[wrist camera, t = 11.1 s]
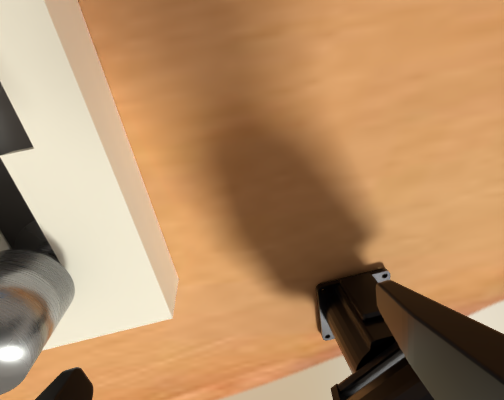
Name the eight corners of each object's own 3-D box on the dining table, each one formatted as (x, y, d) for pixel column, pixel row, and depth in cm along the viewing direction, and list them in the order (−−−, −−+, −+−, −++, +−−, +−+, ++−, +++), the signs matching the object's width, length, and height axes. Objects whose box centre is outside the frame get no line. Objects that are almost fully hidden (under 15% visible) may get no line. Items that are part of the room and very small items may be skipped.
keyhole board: (178, 278, 22) (172, 318, 18) (21, 316, 21) (-18, 365, 17) (63, -40, 14) (9, -86, 10) (-199, 3, 13) (-359, -28, 9)
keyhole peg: (115, 258, 20) (50, 382, 12) (49, 274, 20) (-64, 411, 11) (88, 201, 18) (-11, 300, 10) (16, 217, 18) (-149, 332, 10)
